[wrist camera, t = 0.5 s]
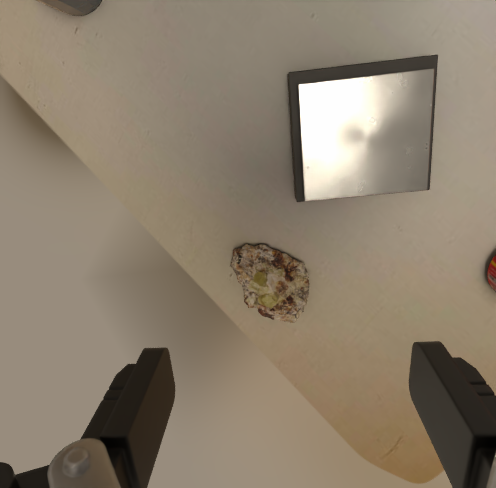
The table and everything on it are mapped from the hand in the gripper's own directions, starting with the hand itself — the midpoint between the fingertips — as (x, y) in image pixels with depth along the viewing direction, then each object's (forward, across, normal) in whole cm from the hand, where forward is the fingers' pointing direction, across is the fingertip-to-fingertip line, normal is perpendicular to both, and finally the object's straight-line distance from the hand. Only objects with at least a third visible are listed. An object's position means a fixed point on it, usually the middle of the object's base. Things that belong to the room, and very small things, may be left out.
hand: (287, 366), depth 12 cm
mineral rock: (+29, +1, +11) cm, 31 cm away
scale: (+29, -8, -4) cm, 30 cm away
